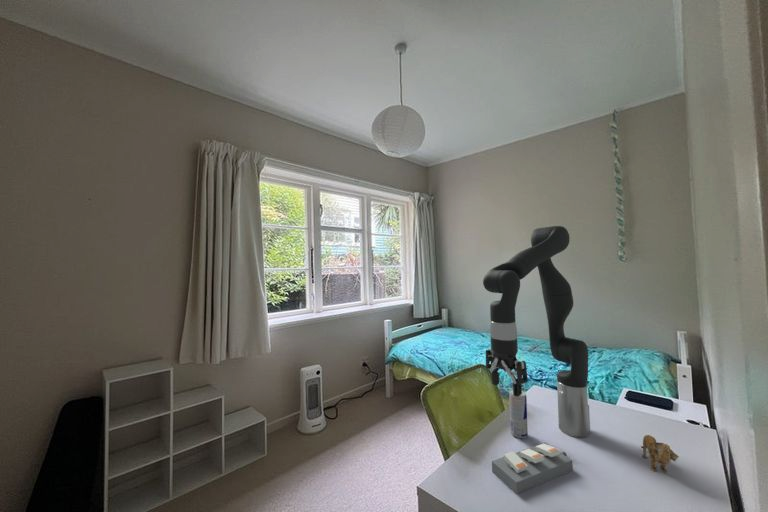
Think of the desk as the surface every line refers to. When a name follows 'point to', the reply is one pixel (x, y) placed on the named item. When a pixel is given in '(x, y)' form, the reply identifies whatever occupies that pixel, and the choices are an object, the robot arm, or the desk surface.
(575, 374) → the robot arm
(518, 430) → the beverage can
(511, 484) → the rocker switch panel
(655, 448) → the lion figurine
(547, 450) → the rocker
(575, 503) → the desk surface
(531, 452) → the rocker middle
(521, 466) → the block
